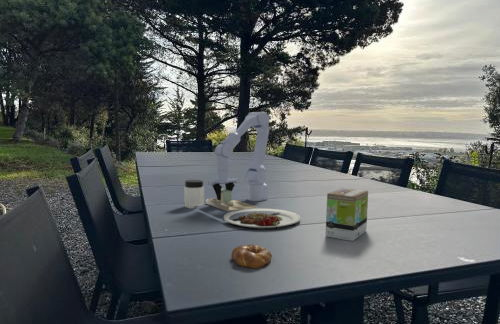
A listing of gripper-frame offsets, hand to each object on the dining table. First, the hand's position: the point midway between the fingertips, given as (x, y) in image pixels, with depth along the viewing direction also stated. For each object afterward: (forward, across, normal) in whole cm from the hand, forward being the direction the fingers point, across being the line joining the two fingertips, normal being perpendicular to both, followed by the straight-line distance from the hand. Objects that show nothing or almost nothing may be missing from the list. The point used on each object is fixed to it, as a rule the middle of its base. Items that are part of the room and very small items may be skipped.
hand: (223, 199), depth 172 cm
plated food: (+4, 0, -32) cm, 32 cm away
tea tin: (+2, 0, 0) cm, 2 cm away
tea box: (+3, +14, -63) cm, 65 cm away
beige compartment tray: (+3, +2, -4) cm, 5 cm away
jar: (+3, -12, +6) cm, 14 cm away
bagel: (+4, -28, -68) cm, 74 cm away
